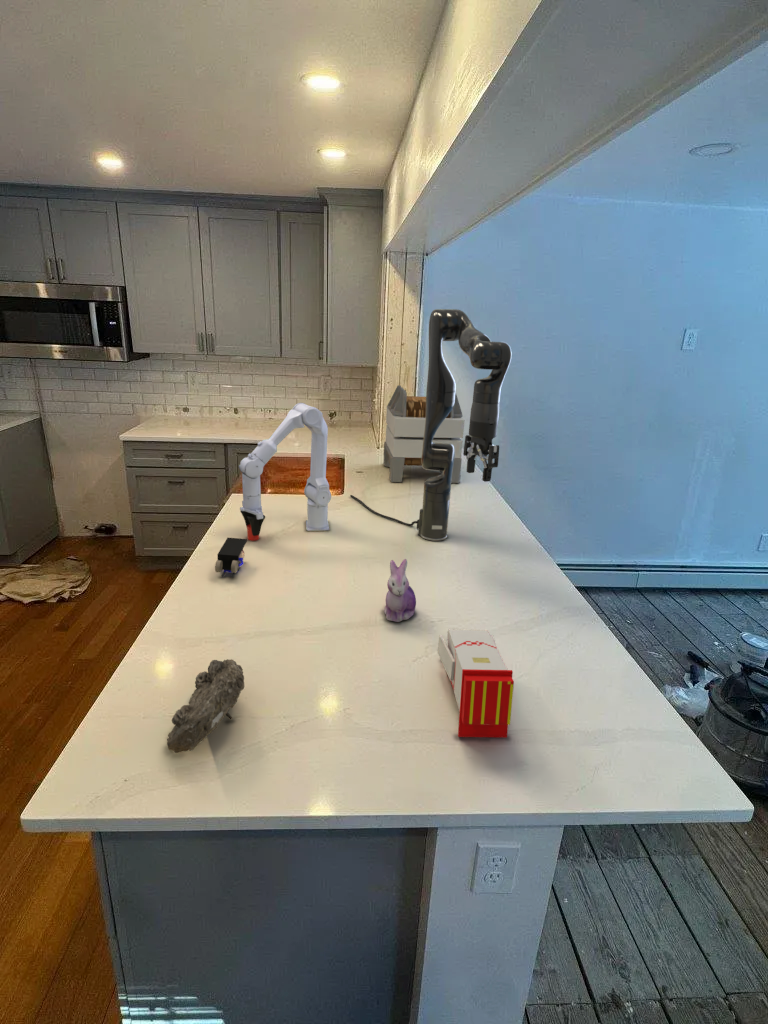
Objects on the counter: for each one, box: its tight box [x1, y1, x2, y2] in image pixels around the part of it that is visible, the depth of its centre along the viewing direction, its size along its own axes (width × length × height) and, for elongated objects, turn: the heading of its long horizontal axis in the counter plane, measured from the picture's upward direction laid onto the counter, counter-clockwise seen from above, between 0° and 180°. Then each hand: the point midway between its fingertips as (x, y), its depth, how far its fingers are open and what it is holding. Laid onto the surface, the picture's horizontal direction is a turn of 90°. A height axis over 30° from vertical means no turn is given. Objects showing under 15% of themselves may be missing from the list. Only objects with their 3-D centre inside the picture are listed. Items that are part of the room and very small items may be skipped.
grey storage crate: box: [383, 384, 465, 484], centre depth 268 cm, size 34×33×41 cm
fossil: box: [166, 658, 245, 754], centre depth 106 cm, size 22×10×15 cm
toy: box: [437, 628, 515, 738], centre depth 117 cm, size 12×13×30 cm
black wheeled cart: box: [214, 537, 248, 578], centre depth 166 cm, size 7×8×15 cm
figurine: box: [384, 558, 417, 623], centre depth 145 cm, size 9×10×15 cm
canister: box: [246, 524, 260, 542], centre depth 190 cm, size 4×4×5 cm
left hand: (253, 532), depth 190 cm, fingers open, 4 cm apart
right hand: (478, 476), depth 158 cm, fingers open, 8 cm apart
